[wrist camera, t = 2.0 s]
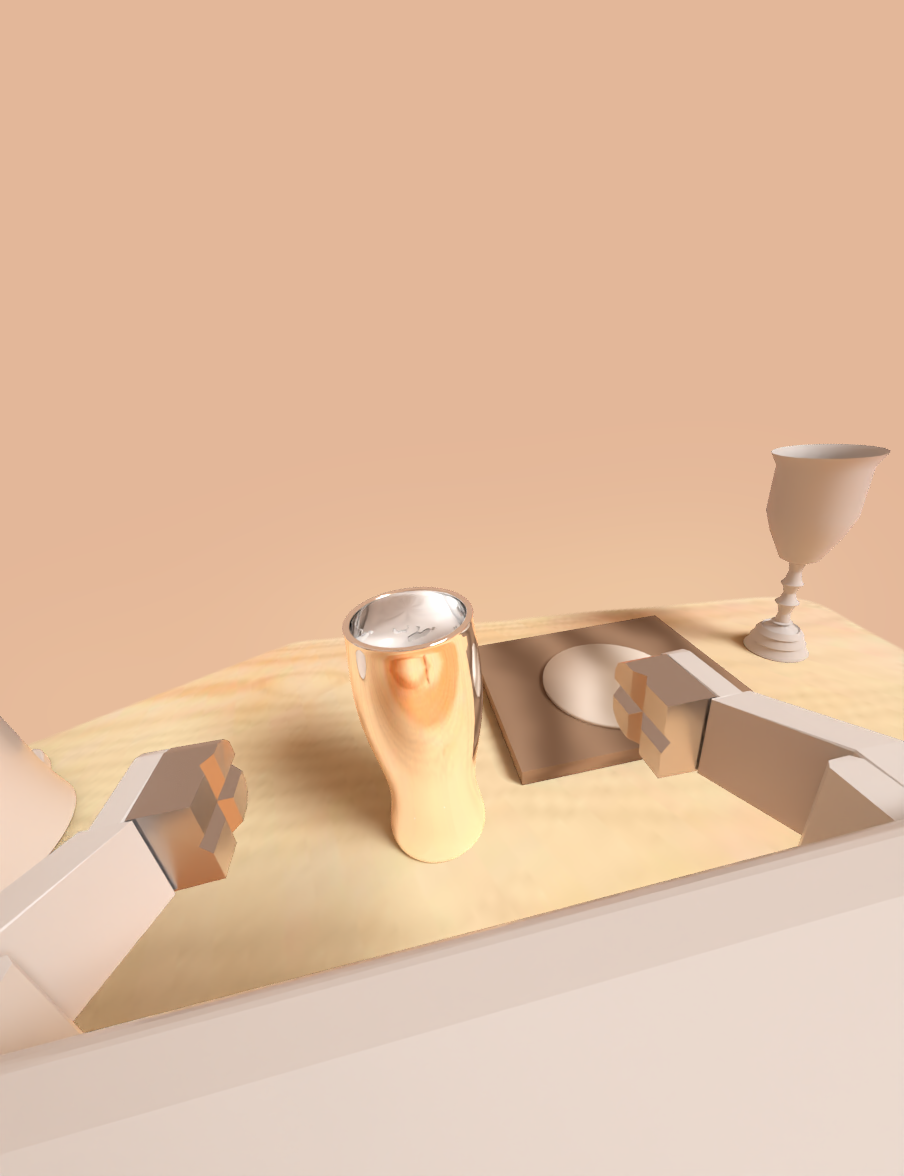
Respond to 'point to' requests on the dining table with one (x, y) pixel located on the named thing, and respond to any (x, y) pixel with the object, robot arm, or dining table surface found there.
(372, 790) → the dining table surface
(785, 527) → the chalice
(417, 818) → the beer glass
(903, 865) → the robot arm
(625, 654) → the walnut board
